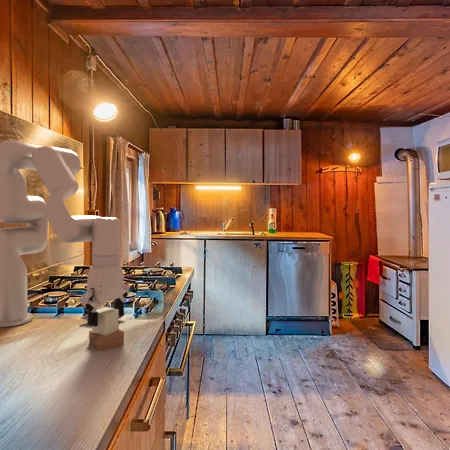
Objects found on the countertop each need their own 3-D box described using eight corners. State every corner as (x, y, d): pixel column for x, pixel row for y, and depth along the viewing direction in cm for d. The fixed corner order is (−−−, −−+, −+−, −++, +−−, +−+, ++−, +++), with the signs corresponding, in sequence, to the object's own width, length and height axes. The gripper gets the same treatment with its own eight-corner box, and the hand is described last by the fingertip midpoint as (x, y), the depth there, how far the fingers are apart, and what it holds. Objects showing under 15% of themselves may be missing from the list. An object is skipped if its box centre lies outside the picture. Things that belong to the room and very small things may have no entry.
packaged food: (109, 328, 111) (109, 313, 111) (79, 324, 115) (79, 309, 115) (125, 320, 119) (125, 306, 119) (97, 316, 123) (97, 303, 123)
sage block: (92, 332, 97) (92, 311, 97) (106, 327, 101) (105, 307, 101) (105, 335, 95) (104, 314, 94) (118, 330, 99) (118, 309, 99)
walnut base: (89, 344, 98) (89, 330, 98) (112, 338, 103) (112, 325, 103) (100, 352, 93) (100, 337, 93) (123, 345, 98) (123, 331, 98)
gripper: (119, 256, 106) (119, 310, 107) (71, 263, 91) (71, 327, 92) (137, 258, 103) (137, 314, 104) (91, 266, 88) (91, 332, 89)
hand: (106, 320), depth 98 cm, fingers open, 9 cm apart
